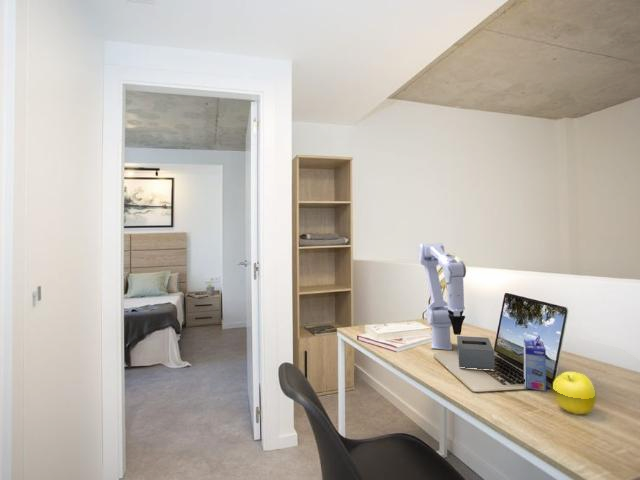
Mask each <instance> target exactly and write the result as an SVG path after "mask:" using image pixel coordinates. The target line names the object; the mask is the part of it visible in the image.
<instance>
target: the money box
mask: <svg viewBox="0 0 640 480" xmlns="http://www.w3.org/2000/svg"><path fill="white" fill-rule="evenodd" d="M456 340H457V341H456V343H457V344H456V346H457V348H456V350H457V360H459V361H458V368H459V367H465V368H477V369H493V370H496V367H495V350H494V347H493V346H492V343H491V340H490V338H489V337H485V336H483V337H482V336H481V337H480V336H468V335H467V336H464V335H463V336H462V335H457V336H456Z"/></svg>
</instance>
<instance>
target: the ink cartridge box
mask: <svg viewBox="0 0 640 480" xmlns="http://www.w3.org/2000/svg"><path fill="white" fill-rule="evenodd" d="M546 354H547V353H546V348H545V345H544V341H541V336H540V335H537V337H536V338H535V339H533V340H532V339H523V380H524V379H525V382H524V386H525V387H524V388H525V389H530V390H536V391H541V392H547V369H546V368H547V361H546Z"/></svg>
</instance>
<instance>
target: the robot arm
mask: <svg viewBox="0 0 640 480" xmlns="http://www.w3.org/2000/svg"><path fill="white" fill-rule="evenodd" d="M417 251H418V258H419V262H420V265H422V266H423V267H424V269H425V275H426V280H427V285H428V289H429V295H430V299H431V303H429V304H428V305H427V306H426V320H427V323H428V324H429V325H430V326H431V344H430V345H431V347H430V349H432V350H445V351H446V350H447V351H452V350H453V346H452V345H453V344H452V342H451V340H452V339H451V327H452V331H453V335H455V336H456V335H457V336H461V333H462V327H463V322H464V321H465V319H466V315H463V313H464V311H465V310H466V307H465V296H464V295H465V293H464V287H465V286H464V278H465V277H466V274H467V268H466V264H465V263H464V262H463V261H457V260H456V259H455V258H454V257H453V256H452V254H450V253H446V252H445V246H444V244H443V243H441V242H439V243H420V244H419V246H418V250H417ZM438 265H439V266H440V267H441V268H442V270H443V275H444V278H445V279H444V280H445V283H446V293H447V294H446V297H447V298H446V299H447V302H446V301H445V300H444V297H443V296H444V295H443V291H442V287H441V286H442V285H441V282H440V277H439V273H438V267H437V266H438Z"/></svg>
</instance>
